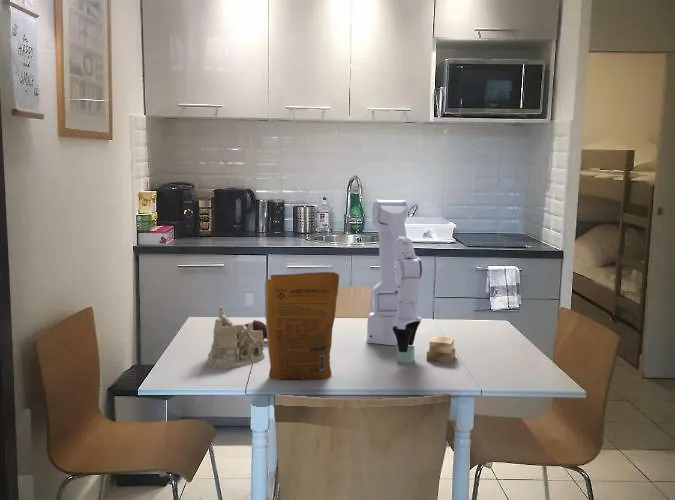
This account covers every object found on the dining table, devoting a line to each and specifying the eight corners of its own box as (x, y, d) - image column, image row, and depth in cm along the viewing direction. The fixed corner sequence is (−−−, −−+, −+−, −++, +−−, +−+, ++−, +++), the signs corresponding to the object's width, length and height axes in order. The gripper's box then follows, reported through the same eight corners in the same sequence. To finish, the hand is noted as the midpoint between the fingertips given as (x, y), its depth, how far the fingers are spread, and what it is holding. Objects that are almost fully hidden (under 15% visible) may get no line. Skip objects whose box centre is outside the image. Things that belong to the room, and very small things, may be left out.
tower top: (429, 351, 195) (429, 341, 195) (433, 346, 201) (433, 336, 200) (450, 354, 193) (450, 343, 193) (453, 348, 199) (454, 338, 199)
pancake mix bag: (338, 381, 176) (341, 273, 172) (264, 382, 174) (264, 274, 170) (335, 373, 183) (337, 269, 179) (263, 374, 180) (264, 269, 176)
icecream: (228, 324, 205) (278, 329, 206) (232, 312, 212) (280, 317, 213) (227, 344, 208) (277, 349, 209) (231, 332, 215) (279, 337, 216)
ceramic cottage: (202, 367, 184) (205, 312, 183) (213, 352, 201) (216, 301, 199) (260, 372, 184) (264, 317, 183) (266, 356, 201) (270, 306, 199)
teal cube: (396, 362, 194) (397, 348, 193) (400, 358, 197) (400, 344, 197) (410, 363, 192) (411, 350, 192) (413, 359, 196) (414, 346, 195)
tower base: (426, 362, 195) (426, 351, 195) (431, 355, 202) (431, 345, 202) (451, 364, 193) (451, 354, 193) (455, 358, 200) (455, 348, 199)
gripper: (416, 307, 184) (414, 356, 186) (426, 297, 198) (425, 343, 200) (390, 305, 186) (389, 353, 188) (403, 295, 200) (401, 340, 202)
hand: (406, 348), depth 194 cm, fingers open, 7 cm apart
